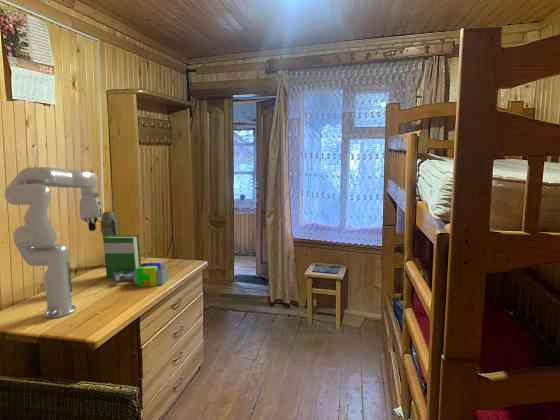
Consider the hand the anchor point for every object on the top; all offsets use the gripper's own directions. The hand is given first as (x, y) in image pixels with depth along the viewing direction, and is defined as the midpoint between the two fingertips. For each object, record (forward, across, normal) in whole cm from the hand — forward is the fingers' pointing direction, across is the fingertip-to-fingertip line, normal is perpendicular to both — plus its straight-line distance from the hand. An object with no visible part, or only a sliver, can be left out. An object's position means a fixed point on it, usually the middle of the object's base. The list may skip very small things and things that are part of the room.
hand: (92, 230), depth 203 cm
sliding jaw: (+31, -16, -4) cm, 35 cm away
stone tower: (+31, +9, -43) cm, 54 cm away
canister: (+31, +14, +10) cm, 36 cm away
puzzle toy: (+31, -27, -4) cm, 42 cm away
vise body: (+31, -20, -5) cm, 37 cm away
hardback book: (+31, -8, -17) cm, 37 cm away
